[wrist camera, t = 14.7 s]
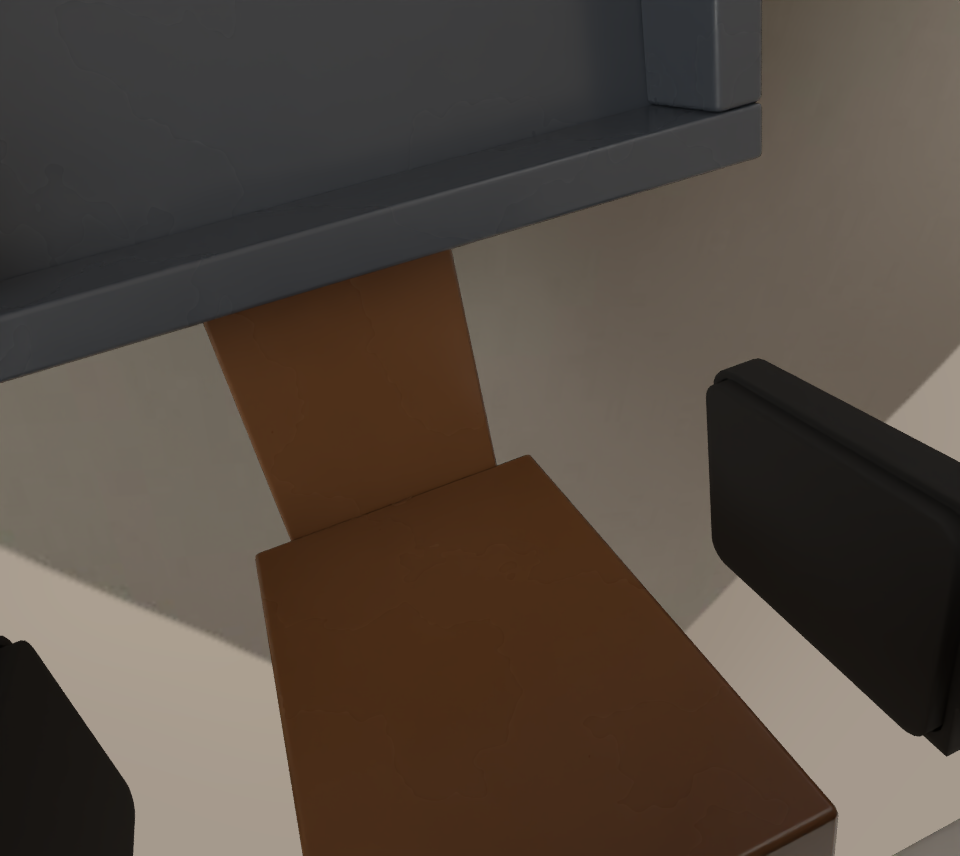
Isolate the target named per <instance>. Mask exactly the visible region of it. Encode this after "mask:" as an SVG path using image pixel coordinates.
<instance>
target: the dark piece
mask: <svg viewBox="0 0 960 856" xmlns="http://www.w3.org/2000/svg"><path fill="white" fill-rule="evenodd" d="M761 71H762V0H0V383H3V382H6V381H9V380H13V379H16V378H20V377H23V376H26V375H30V374H33V373H36V372H40V371H43V370H46V369H50V368H53V367H56V366H60V365H63V364H67V363H70V362H73V361H77V360H80V359H83V358H87V357H90V356H93V355H97V354H100V353H104V352H107V351H110V350H114V349H117V348H120V347H124V346H127V345H130V344H134V343H137V342H140V341H144V340H147V339H151V338H154V337H157V336H161V335H164V334H167V333H171V332H174V331H177V330H181V329H184V328H187V327H191V326H194V325H198V324H201V323H203V324H204V327H205V329H206V331H207V334H208V336H209V339H210V341H211V344H212V346H213V349H214V351H215V354H216V356H217V359H218V361H219V364H220V366H221V369H222V371H223V374H224V376H225V378H226V381H227V383H228V386H229V388H230V391H231V393H232V396H233V398H234V401H235V403H236V406H237V408H238V411H239V413H240V416H241V418H242V420H243V423H244V425H245V428H246V430H247V433H248V435H249V438H250V440H251V443H252V445H253V448H254V450H255V453H256V455H257V458H258V460H259V463H260V465H261V467H262V470H263V472H264V475H265V477H266V480H267V482H268V485H269V487H270V490H271V492H272V495H273V497H274V500H275V502H276V505H277V507H278V509H279V512H280V514H281V517H282V519H283V522H284V524H285V527H286V529H287V532H288V534H289V537H290V539H291V542H288V543H285V544H282V545H280V546H277V547H274V548H271V549H269V550H266V551H263V552H261V553H259V554H257V555H256V559H255V561H256V567H257V573H258V579H259V586H260V592H261V598H262V604H263V610H264V617H265V623H266V629H267V635H268V642H269V648H270V654H271V660H272V666H273V672H274V678H275V684H276V691H277V698H278V704H279V710H280V715H281V722H282V728H283V735H284V741H285V747H286V753H287V760H288V766H289V772H290V778H291V784H292V791H293V797H294V803H295V809H296V816H297V822H298V828H299V834H300V840H301V847H302V853H303V856H834V854H835V843H836V834H837V823H838V812H837V810H836V807H835V806H834V805H833V804H832V803H831V801H830V800H829V799H828V798H827V797H826V795H825V794H823V792H822V791H821V790H820V789H819V787H818V786H817V785H816V784H815V783H814V782H813V781H812V779H811V778H810V777H809V776H808V775H807V774H806V772H805V771H804V770H803V769H802V768H801V767H800V765H798V763H797V762H796V761H795V760H794V759H793V757H792V756H791V755H790V754H789V753H788V752H787V751H786V749H785V748H784V747H783V746H782V745H781V744H780V742H779V741H778V740H777V739H776V738H775V737H774V736H773V735H772V733H771V732H770V731H769V730H768V729H767V727H765V725H764V724H763V723H762V722H761V721H760V719H759V718H758V717H757V716H756V715H755V714H754V712H753V711H752V710H751V709H750V708H749V707H748V706H747V705H746V703H745V702H744V701H743V700H742V699H741V698H740V696H739V695H738V694H737V693H736V692H735V691H734V690H733V688H732V687H731V686H730V685H729V684H728V683H727V681H726V680H725V679H724V678H723V677H722V676H721V675H720V673H719V672H718V671H717V670H716V669H715V668H714V666H713V665H712V664H711V663H710V662H709V661H708V659H707V658H706V657H705V656H704V655H703V654H702V653H701V652H700V650H699V649H698V648H697V647H696V646H695V645H694V643H693V642H692V641H691V640H690V639H689V638H688V637H687V635H686V634H685V633H684V632H683V631H682V630H681V628H680V627H679V626H678V625H677V624H676V623H675V621H674V620H673V619H672V618H671V617H670V616H669V615H668V613H667V612H666V611H665V610H664V609H663V608H662V606H661V605H660V604H659V603H658V602H657V601H656V600H655V598H654V597H653V596H652V595H651V594H650V593H649V592H648V590H647V589H646V588H645V587H644V586H643V585H642V583H641V582H640V581H639V580H638V579H637V578H636V577H635V575H634V574H633V573H632V572H631V571H630V570H629V568H628V567H627V566H626V565H625V564H624V563H623V562H622V560H621V559H620V558H619V557H618V556H617V555H616V554H615V552H614V551H613V550H612V549H611V548H610V547H609V545H608V544H607V543H606V542H605V541H604V540H603V539H602V537H601V536H600V535H599V534H598V533H597V532H596V530H595V529H594V528H593V527H592V526H591V525H590V524H589V522H588V521H587V520H586V519H585V518H584V517H583V515H582V514H581V513H580V512H579V511H578V510H577V509H576V507H575V506H574V505H573V504H572V503H571V502H570V501H569V499H568V498H567V497H566V496H565V495H564V494H563V492H562V491H561V490H560V489H559V488H558V487H557V486H556V484H555V483H554V482H553V481H552V480H551V479H550V477H549V476H548V475H547V474H546V473H545V472H544V471H543V469H542V468H541V467H540V466H539V465H538V464H537V463H536V461H535V460H534V459H533V458H532V457H531V456H530V455H525V456H522V457H519V458H516V459H514V460H511V461H508V462H505V463H503V464H500V465H497V464H496V459H495V454H494V450H493V445H492V440H491V435H490V431H489V426H488V421H487V416H486V412H485V407H484V402H483V397H482V393H481V388H480V383H479V379H478V374H477V369H476V364H475V360H474V355H473V350H472V345H471V341H470V336H469V331H468V326H467V322H466V317H465V312H464V307H463V303H462V298H461V293H460V288H459V284H458V279H457V274H456V269H455V265H454V260H453V255H452V250H451V249H453V248H456V247H460V246H463V245H466V244H470V243H473V242H476V241H480V240H483V239H486V238H490V237H493V236H497V235H500V234H503V233H507V232H510V231H513V230H517V229H520V228H523V227H527V226H530V225H534V224H537V223H540V222H544V221H547V220H550V219H554V218H557V217H560V216H564V215H567V214H570V213H574V212H577V211H581V210H584V209H587V208H591V207H594V206H597V205H601V204H604V203H607V202H611V201H614V200H617V199H621V198H624V197H628V196H631V195H634V194H638V193H641V192H644V191H648V190H651V189H654V188H658V187H661V186H665V185H668V184H671V183H675V182H678V181H681V180H685V179H688V178H691V177H695V176H698V175H701V174H705V173H708V172H712V171H715V170H718V169H722V168H725V167H728V166H732V165H735V164H738V163H742V162H745V161H748V160H752V159H755V158H758V157H759V156H761V152H762V107H761V105H760V104H759V103H755V102H757V101H758V100H760V98H761Z"/></svg>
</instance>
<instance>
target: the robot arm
mask: <svg viewBox="0 0 960 856" xmlns="http://www.w3.org/2000/svg"><path fill="white" fill-rule="evenodd" d="M706 407H707V431H708V455H709V479H710V503H711V528H712V541H713V545H714V548H715V550H716V552H717V554H718V556H719V557H720V559H721V560H722V561H723V562H724V563H725V564H726V565H727V566H728V567H729V568H730V569H731V570H732V571H733V572H734V573H735V574H736V575H738V576H739V577H740V578H741V579H742V580H743V581H744V582H745V583H746V584H747V585H748V586H749V587H751V588H752V589H753V590H754V591H755V592H756V593H757V594H758V595H759V596H760V597H761V598H762V599H763V600H765V601H766V602H767V603H768V604H769V605H770V606H771V607H772V608H773V609H774V610H775V611H776V612H777V613H779V614H780V615H781V616H782V617H783V618H784V619H785V620H786V621H787V622H788V623H789V624H790V625H791V626H792V627H793V628H795V629H796V630H797V631H798V632H799V633H800V634H801V635H802V636H803V637H804V638H805V639H806V640H808V641H809V642H810V643H811V644H812V645H813V646H814V647H815V648H816V649H817V650H819V652H820V653H821V654H823V655H824V656H825V657H826V658H827V659H828V660H829V661H830V662H831V663H832V664H833V665H834V666H836V667H837V668H838V669H839V670H840V671H841V672H842V673H843V674H844V675H845V676H846V677H847V678H848V679H850V680H851V681H852V682H853V683H854V684H855V685H856V686H857V687H858V688H859V689H860V690H861V691H862V692H863V693H865V694H866V695H867V696H868V697H869V698H870V699H871V700H872V701H873V702H874V703H875V704H876V705H877V706H879V707H880V708H881V709H882V710H883V711H884V712H885V713H886V714H887V715H888V716H889V717H890V718H892V719H893V720H894V721H895V722H896V723H897V724H898V725H899V726H900V727H901V728H902V729H904V730H905V731H906V732H908V733H910V734H912V735H914V736H922V735H923V736H924V737H926V738H927V739H928V740H929V741H930V742H931V743H932V744H933V745H934V746H935V747H937V748H938V749H939V750H940V751H941V752H942V753H943V754H944V755H945V756H949V755H951V754H952V753H954V752H956V751H958V750H960V462H958V461H956V460H954V459H953V458H951V457H949V456H947V455H945V454H943V453H941V452H939V451H937V450H935V449H933V448H932V447H929V446H928V445H926V444H924V443H922V442H920V441H918V440H916V439H914V438H912V437H910V436H909V435H907V434H905V433H903V432H901V431H899V430H897V429H895V428H893V427H891V426H889V425H888V424H886V423H884V422H882V421H880V420H878V419H876V418H874V417H872V416H870V415H868V414H867V413H865V412H863V411H861V410H859V409H857V408H855V407H853V406H851V405H849V404H847V403H846V402H844V401H842V400H840V399H838V398H836V397H834V396H832V395H830V394H828V393H826V392H825V391H823V390H821V389H819V388H817V387H815V386H813V385H811V384H809V383H807V382H805V381H803V380H802V379H800V378H798V377H796V376H794V375H792V374H790V373H788V372H786V371H784V370H782V369H781V368H779V367H777V366H775V365H773V364H771V363H769V362H767V361H765V360H762V359H759V358H757V359H752V360H750V361H747V362H744V363H741V364H739V365H736V366H733V367H730V368H728V369H725V370H722V371H720V372H719V373H718V374H717V375H716V377H715V379H714V385H712V386H710V387H709V388H708V390H707V393H706ZM134 825H135V809H134V802H133V798H132V795H131V792H130V789H129V787H128V785H127V783H126V782H125V780H124V779H123V777H122V776H121V775H120V773H119V772H118V770H117V769H116V767H115V766H114V764H113V763H112V761H111V760H110V759H109V757H108V756H107V754H106V753H105V751H104V750H103V748H102V747H101V745H100V744H99V743H98V741H97V740H96V738H95V737H94V735H93V734H92V732H91V731H90V730H89V728H88V727H87V726H86V724H85V722H84V721H83V719H82V718H81V716H80V715H79V714H78V712H77V711H76V709H75V708H74V706H73V705H72V703H71V702H70V701H69V699H68V698H67V696H66V695H65V693H64V692H63V691H62V689H61V687H60V686H59V685H58V683H57V682H56V680H55V679H54V677H53V676H52V674H51V673H50V671H49V670H48V669H47V667H46V666H45V664H44V663H43V661H42V660H41V658H40V657H39V655H38V654H37V653H36V651H35V650H34V648H33V647H32V646H31V645H30V644H29V643H28V642H26V641H18V642H15V643H13V644H12V643H11V641H10V640H8V639H7V638H5V637H4V636H0V856H133V845H134ZM893 856H960V819H958V820H956V821H954V822H953V823H951V824H949V825H947V826H945V827H943V828H942V829H940V830H938V831H936V832H934V833H933V834H931V835H929V836H927V837H925V838H923V839H922V840H920V841H918V842H916V843H914V844H913V845H911V846H909V847H907V848H905V849H904V850H902V851H900V852H898V853H896V854H894V855H893Z"/></svg>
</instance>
